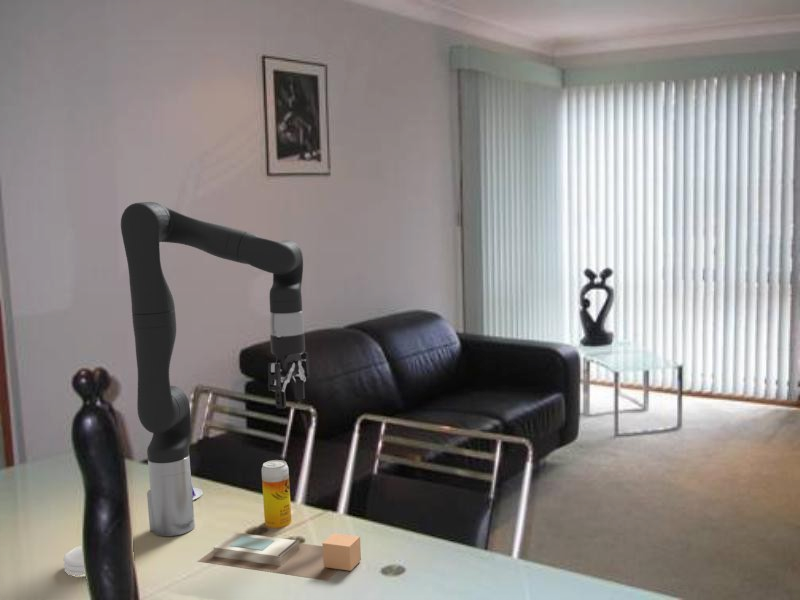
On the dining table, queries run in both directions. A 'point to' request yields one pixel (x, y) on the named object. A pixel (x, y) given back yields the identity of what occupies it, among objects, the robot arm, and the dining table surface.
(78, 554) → the white frilly dome
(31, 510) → the dining table surface
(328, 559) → the light orange cube
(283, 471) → the beer can
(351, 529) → the dining table surface
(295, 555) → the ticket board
